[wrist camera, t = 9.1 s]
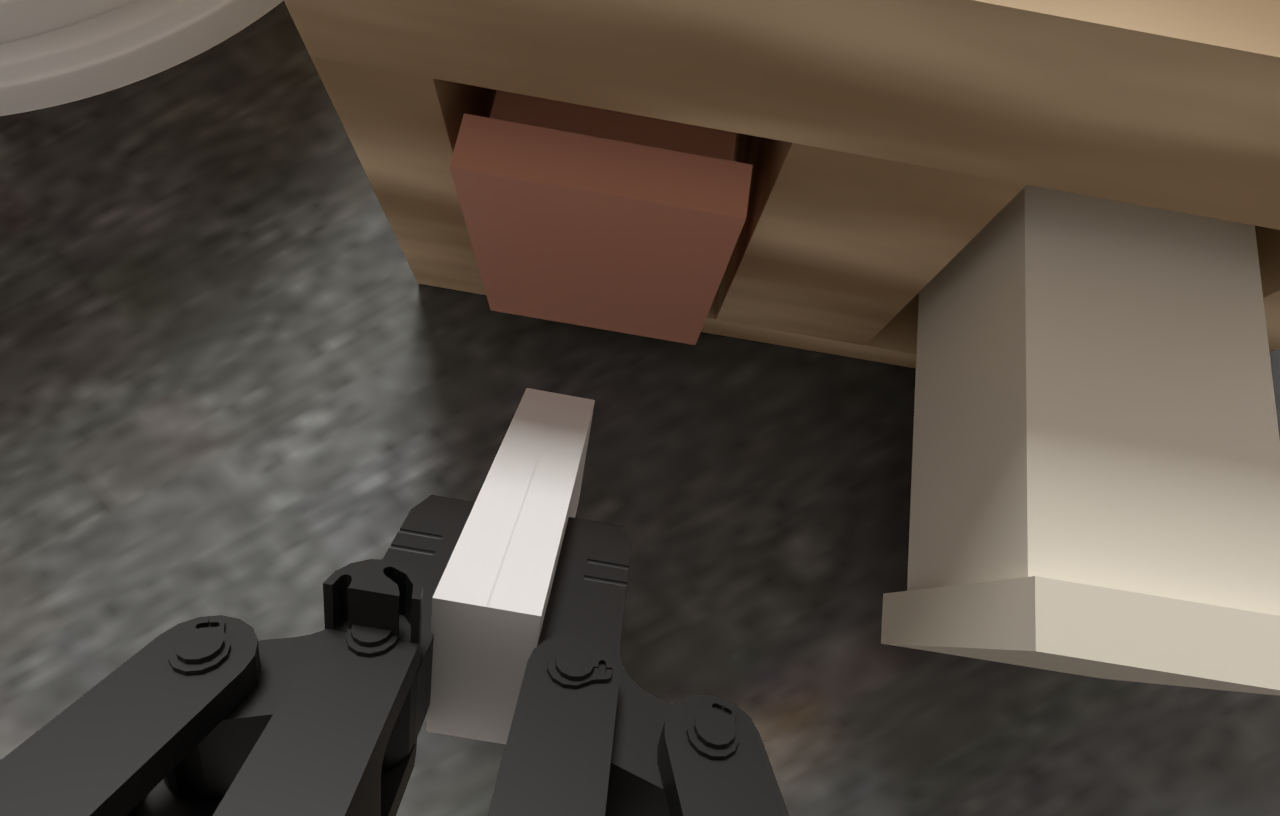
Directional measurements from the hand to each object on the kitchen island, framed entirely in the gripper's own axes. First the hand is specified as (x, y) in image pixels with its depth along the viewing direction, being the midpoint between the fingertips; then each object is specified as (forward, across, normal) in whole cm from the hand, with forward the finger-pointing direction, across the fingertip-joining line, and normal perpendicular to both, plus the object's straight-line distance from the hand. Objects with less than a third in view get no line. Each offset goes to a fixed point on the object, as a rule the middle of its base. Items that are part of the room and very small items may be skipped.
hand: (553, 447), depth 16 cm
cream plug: (+6, +11, +2) cm, 13 cm away
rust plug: (+11, 0, +7) cm, 13 cm away
